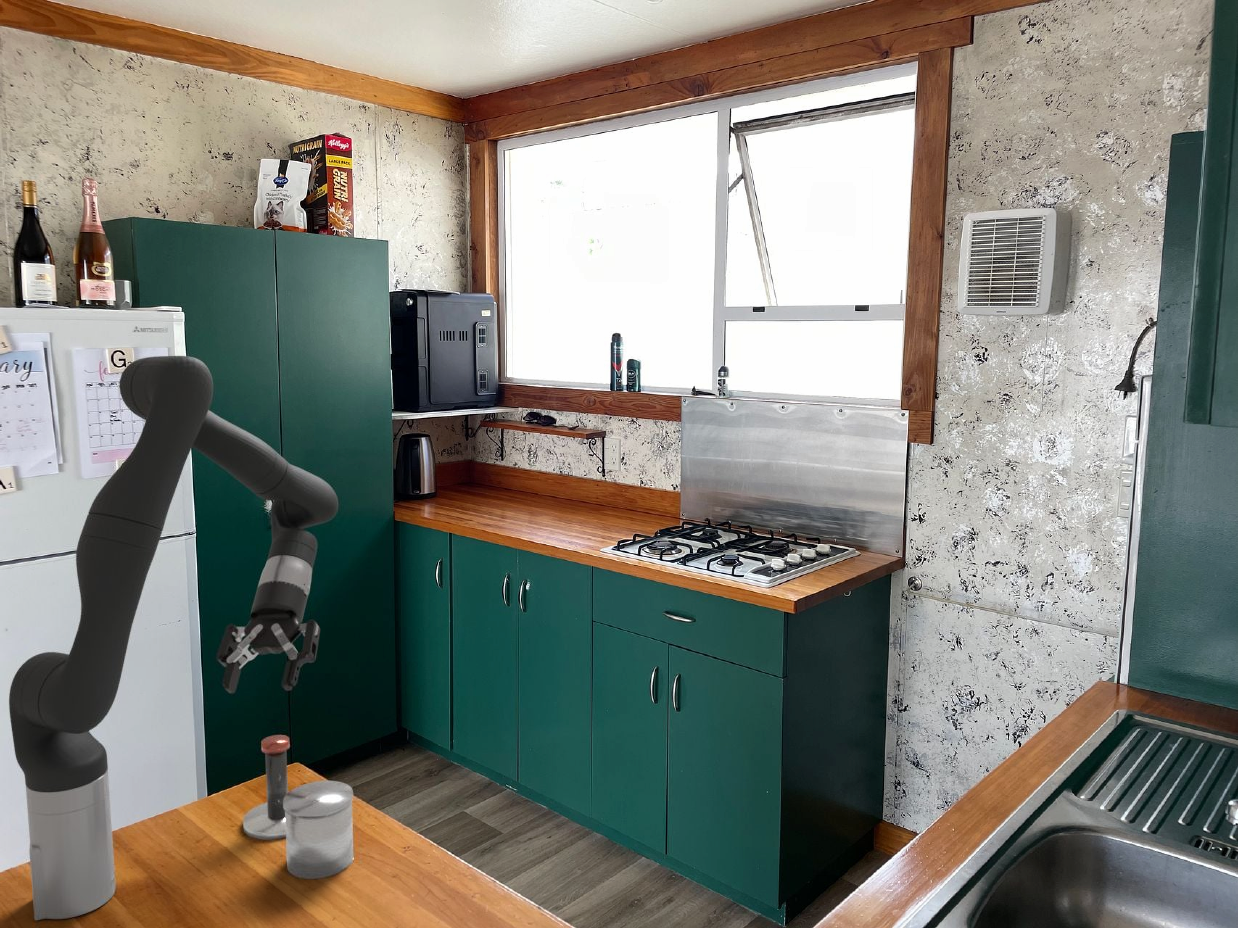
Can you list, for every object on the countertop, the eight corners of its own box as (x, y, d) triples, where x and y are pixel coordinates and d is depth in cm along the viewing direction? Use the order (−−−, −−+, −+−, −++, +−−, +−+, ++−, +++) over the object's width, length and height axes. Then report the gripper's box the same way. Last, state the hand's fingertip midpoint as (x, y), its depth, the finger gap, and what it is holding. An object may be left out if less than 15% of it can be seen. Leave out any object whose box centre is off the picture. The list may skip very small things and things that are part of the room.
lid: (249, 846, 136) (246, 760, 134) (238, 815, 144) (234, 734, 143) (319, 828, 141) (317, 745, 139) (304, 800, 150) (301, 721, 148)
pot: (293, 886, 126) (291, 819, 125) (279, 853, 134) (276, 790, 133) (362, 867, 131) (361, 802, 130) (345, 836, 139) (343, 775, 138)
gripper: (228, 581, 142) (198, 680, 132) (319, 576, 141) (295, 675, 130) (248, 606, 147) (221, 702, 137) (335, 601, 146) (315, 698, 136)
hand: (257, 689), depth 134 cm, fingers open, 8 cm apart
